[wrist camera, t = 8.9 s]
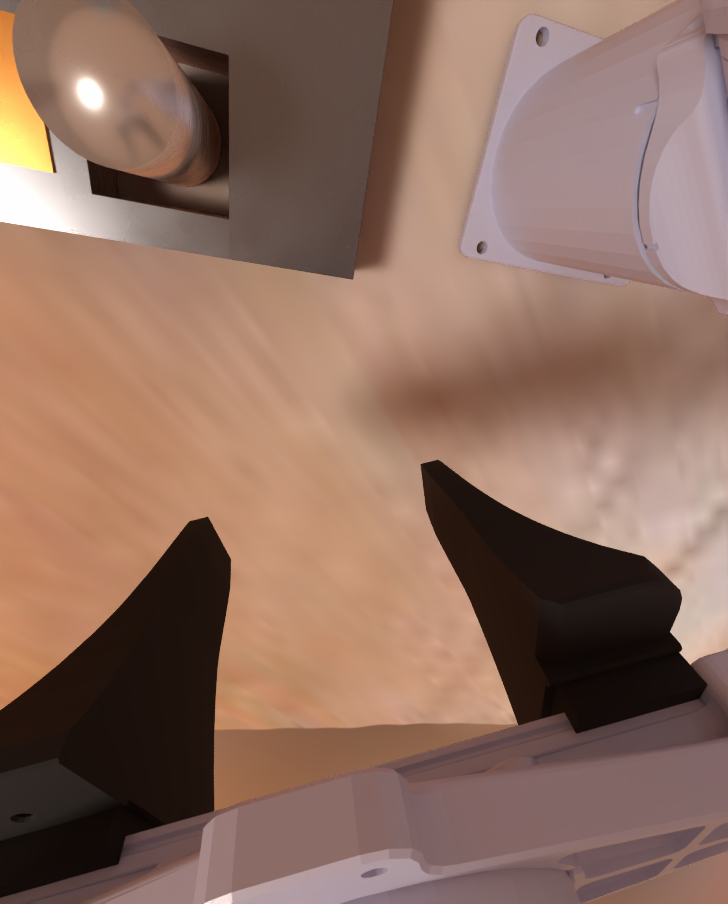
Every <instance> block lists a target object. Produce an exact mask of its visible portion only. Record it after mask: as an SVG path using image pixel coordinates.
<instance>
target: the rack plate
mask: <svg viewBox="0 0 728 904" xmlns="http://www.w3.org/2000/svg"><path fill="white" fill-rule="evenodd" d="M20 1H21V0H0V221H2V222H8V223H14V224H20V225H26V226H32V227H38V228H44V229H50V230H56V231H62V232H68V233H74V234H80V235H86V236H92V237H98V238H105V239H111V240H117V241H123V242H129V243H135V244H141V245H147V246H153V247H159V248H165V249H171V250H177V251H183V252H189V253H195V254H202V255H208V256H214V257H220V258H226V259H232V260H238V261H244V262H250V263H256V264H262V265H268V266H274V267H280V268H286V269H292V270H298V271H305V272H311V273H317V274H323V275H329V276H335V277H341V278H347V279H353V276H354V269H355V262H356V256H357V249H358V242H359V235H360V228H361V221H362V214H363V207H364V200H365V194H366V187H367V180H368V173H369V166H370V159H371V152H372V145H373V139H374V132H375V125H376V118H377V111H378V104H379V97H380V90H381V83H382V77H383V70H384V63H385V56H386V49H387V42H388V35H389V28H390V21H391V15H392V8H393V1H394V0H127V1H128V2H129V3H130V4H131V5H133V6H134V7H135V8H136V10H137V11H138V12H139V13H140V14H141V15H142V16H143V18H144V19H145V20H146V22H147V23H148V24H149V26H150V27H151V28H152V30H153V31H154V32H155V34H156V35H157V36H158V38H159V39H160V40H161V42H162V43H163V45H164V46H165V47H166V49H167V50H168V51H169V53H170V54H171V55H172V57H173V58H174V59H175V61H176V62H179V63H182V64H186V65H190V66H194V67H197V68H201V69H205V70H209V71H212V72H216V73H220V74H224V75H227V76H229V217H226V216H221V215H216V214H210V213H205V212H200V211H194V210H189V209H184V208H178V207H173V206H168V205H162V204H157V203H152V202H147V201H141V200H136V199H131V198H125V197H120V196H119V195H118V187H117V179H116V170H115V169H112V168H108V167H105V166H102V165H99V164H96V163H94V162H91V161H89V160H87V159H85V158H83V157H82V156H80V155H78V154H77V153H75V152H74V151H73V150H71V149H70V148H69V147H67V146H66V145H65V144H64V143H63V142H62V141H60V140H59V139H58V138H57V137H56V136H55V135H54V134H53V133H52V131H51V130H50V129H49V128H48V127H47V126H46V124H45V123H44V122H43V121H42V119H41V118H40V117H39V115H38V114H37V112H36V110H35V109H34V107H33V106H32V104H31V102H30V100H29V98H28V96H27V95H26V92H25V90H24V88H23V85H22V83H21V80H20V77H19V74H18V71H17V68H16V63H15V58H14V52H13V43H12V37H13V23H14V17H15V14H16V11H17V7H18V5H19V3H20Z"/></svg>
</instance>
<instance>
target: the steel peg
mask: <svg viewBox="0 0 728 904" xmlns="http://www.w3.org/2000/svg"><path fill="white" fill-rule="evenodd" d="M12 43H13V52H14V58H15V63H16V68H17V71H18V74H19V77H20V80H21V83H22V85H23V88H24V90H25V92H26V95H27V96H28V98H29V100H30V102H31V104H32V106H33V107H34V109H35V110H36V112H37V114H38V115H39V117H40V118H41V119H42V121H43V122H44V123H45V124H46V126H47V127H48V128H49V129H50V130H51V131H52V133H53V134H54V135H55V136H56V137H57V138H58V139H59V140H60V141H62V142H63V143H64V144H65V145H66V146H67V147H69V148H70V149H71V150H73V151H74V152H75V153H77V154H78V155H80V156H82V157H83V158H85V159H87V160H89V161H91V162H94V163H96V164H99V165H102V166H105V167H108V168H112V169H116V170H120V171H124V172H127V173H131V174H135V175H139V176H143V177H147V178H150V179H154V180H158V181H162V182H166V183H170V184H173V185H177V186H185V187H189V186H195V185H199V184H201V183H203V182H204V181H206V180H207V179H208V178H209V177H210V176H211V175H212V174H213V173H214V171H215V169H216V167H217V165H218V162H219V159H220V155H221V137H220V131H219V127H218V124H217V121H216V119H215V116H214V114H213V112H212V111H211V109H210V107H209V106H208V104H207V103H206V101H205V100H204V99H203V97H202V96H201V95H200V93H199V92H198V91H197V89H196V88H195V86H194V85H193V84H192V82H191V81H190V80H189V78H188V77H187V76H186V74H185V73H184V72H183V70H182V69H181V68H180V66H179V65H178V63H177V62H176V61H175V59H174V58H173V57H172V55H171V54H170V53H169V51H168V50H167V49H166V47H165V46H164V45H163V43H162V42H161V40H160V39H159V38H158V36H157V35H156V34H155V32H154V31H153V30H152V28H151V27H150V26H149V24H148V23H147V22H146V20H145V19H144V18H143V16H142V15H141V14H140V13H139V12H138V11H137V10H136V8H135V7H134V6H133V5H131V4H130V3H129V2H128V1H127V0H21V1H20V3H19V5H18V7H17V11H16V14H15V17H14V23H13V37H12Z"/></svg>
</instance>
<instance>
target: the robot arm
mask: <svg viewBox="0 0 728 904" xmlns="http://www.w3.org/2000/svg"><path fill="white" fill-rule="evenodd" d="M538 31H540V32H541V33H542V34H543V37H544V38H543V44H542V46H541V47H539V46H538V45H537V43H536V34H537V32H538ZM481 241H482V242H483V244H484V248H483V250H482V251H481V252H480V253H478V252H477V245H478V243H480V242H481ZM459 251H460V253H461V254H462V255H463V256H465V257H468V258H473V259H478V260H483V261H489V262H494V263H499V264H504V265H509V266H515V267H520V268H525V269H530V270H536V271H541V272H546V273H551V274H556V275H562V276H567V277H572V278H577V279H583V280H588V281H593V282H598V283H603V284H609V285H614V286H619V287H620V286H625V285H627V284H628V283H629V282H630V280H632V281H637V282H642V283H647V284H651V285H656V286H661V287H666V288H671V289H676V290H681V291H688V292H692V293H696V294H700V295H704V296H706V297H708V298H709V299H711V300H712V301H713V303H714V304H715V306H716V308H717V311H718V313H720V314H724V315H728V0H677V1H675V2H673V3H671V4H669V5H667V6H666V7H664V8H662V9H660V10H658V11H656V12H654V13H653V14H651V15H649V16H647V17H645V18H643V19H641V20H640V21H638V22H636V23H634V24H632V25H630V26H628V27H627V28H625V29H623V30H621V31H619V32H617V33H615V34H613V35H612V36H610V37H608V38H606V39H602V38H600V37H597V36H594V35H591V34H589V33H586V32H583V31H580V30H578V29H575V28H572V27H569V26H567V25H564V24H561V23H558V22H556V21H553V20H550V19H547V18H545V17H542V16H539V15H537V14H529V15H527V16H526V17H524V18H523V19H522V20H521V21H520V22H519V23H518V24H517V26H516V29H515V31H514V34H513V38H512V42H511V46H510V50H509V54H508V57H507V61H506V65H505V69H504V73H503V77H502V80H501V84H500V88H499V92H498V96H497V100H496V104H495V107H494V111H493V115H492V119H491V123H490V127H489V130H488V134H487V138H486V142H485V146H484V150H483V154H482V157H481V161H480V165H479V169H478V173H477V177H476V181H475V184H474V188H473V192H472V196H471V200H470V204H469V207H468V211H467V215H466V219H465V223H464V227H463V231H462V234H461V238H460V242H459ZM604 275H606V276H604ZM421 471H422V479H423V488H424V496H425V504H426V511H427V513H428V516H429V519H430V521H431V524H432V526H433V529H434V532H435V534H436V536H437V538H438V540H439V542H440V544H441V546H442V548H443V550H444V551H445V553H446V555H447V557H448V559H449V561H450V563H451V565H452V566H453V568H454V570H455V572H456V574H457V576H458V578H459V579H460V581H461V583H462V585H463V587H464V589H465V591H466V593H467V595H468V597H469V599H470V601H471V604H472V606H473V609H474V611H475V614H476V616H477V618H478V621H479V623H480V626H481V628H482V631H483V633H484V636H485V638H486V641H487V643H488V646H489V648H490V651H491V653H492V656H493V658H494V661H495V664H496V666H497V669H498V671H499V674H500V677H501V679H502V682H503V685H504V687H505V690H506V692H507V695H508V698H509V701H510V703H511V706H512V709H513V712H514V714H515V717H516V720H517V723H518V726H515V727H511V728H508V729H504V730H500V731H497V732H493V733H490V734H486V735H483V736H480V737H476V738H472V739H469V740H465V741H461V742H458V743H454V744H451V745H447V746H444V747H440V748H437V749H433V750H429V751H426V752H422V753H419V754H415V755H412V756H409V757H405V758H401V759H398V760H394V761H390V762H387V763H383V764H380V765H377V766H373V767H369V768H366V769H361V770H355V771H350V772H346V773H343V774H339V775H335V776H332V777H328V778H325V779H321V780H318V781H314V782H311V783H307V784H304V785H300V786H297V787H293V788H290V789H286V790H282V791H279V792H276V793H272V794H268V795H264V796H261V797H257V798H254V799H250V800H247V801H243V802H240V803H237V804H235V805H233V806H230V807H227V808H224V809H220V810H217V811H214V723H215V698H216V682H217V667H218V659H219V652H220V646H221V640H222V634H223V628H224V622H225V617H226V611H227V604H228V598H229V592H230V578H231V559H230V557H229V555H228V553H227V551H226V549H225V547H224V546H223V544H222V542H221V540H220V538H219V536H218V534H217V533H216V531H215V529H214V527H213V525H212V523H211V521H210V520H209V518H208V517H205V518H201V519H197V520H193V521H190V522H189V523H188V524H187V525H186V526H185V527H184V529H183V530H182V531H181V532H180V534H179V535H178V536H177V538H176V539H175V540H174V542H173V543H172V544H171V545H170V547H169V548H168V549H167V551H166V552H165V553H164V554H163V556H162V557H161V558H160V560H159V561H158V562H157V563H156V565H155V566H154V567H153V568H152V570H151V571H150V572H149V573H148V575H147V576H146V577H145V578H144V579H143V580H142V582H141V583H140V584H139V585H138V586H137V587H136V589H135V590H134V591H133V592H132V593H131V595H130V596H129V597H128V598H127V599H126V600H125V601H124V602H123V604H122V605H121V606H120V607H119V608H118V609H117V610H116V611H115V612H114V613H113V614H112V615H111V616H110V617H109V618H108V619H107V620H106V621H105V622H104V623H103V624H102V625H101V626H100V627H99V628H98V629H97V630H96V631H95V632H94V633H93V634H92V635H91V636H90V637H89V638H88V639H87V640H85V641H84V642H83V643H82V644H81V645H80V646H79V647H78V648H77V649H75V650H74V651H73V652H72V653H71V654H70V655H69V656H68V657H67V658H66V659H64V660H63V661H62V662H61V663H60V664H59V665H57V666H56V667H55V668H54V669H53V670H51V671H50V672H49V673H48V674H47V675H45V676H44V677H43V678H42V679H41V680H39V681H38V682H37V683H35V684H34V685H33V686H32V687H30V688H29V689H28V690H27V691H25V692H24V693H23V694H22V695H20V696H19V697H18V698H16V699H15V700H14V701H12V702H11V703H10V704H8V705H7V706H6V707H4V708H3V709H1V710H0V904H584V903H587V902H590V901H593V900H596V899H598V898H601V897H604V896H607V895H609V894H612V893H615V892H618V891H621V890H623V889H626V888H629V887H632V886H634V885H637V884H640V883H643V882H645V881H648V880H651V879H654V878H657V877H659V876H662V875H665V874H667V873H670V872H673V871H676V870H679V869H681V868H684V867H687V866H690V865H693V864H695V863H698V862H701V861H703V860H706V859H709V858H712V857H715V856H718V855H721V854H723V853H726V852H728V650H725V651H721V652H718V653H714V654H710V655H707V656H704V657H702V658H699V659H698V660H696V661H695V662H693V663H692V664H691V665H690V664H689V663H688V662H687V661H686V660H685V659H684V658H683V656H682V655H681V654H680V653H679V652H680V651H681V650H682V646H681V644H680V643H679V642H678V641H677V639H676V638H675V637H674V636H673V635H672V634H671V633H670V630H671V628H672V626H673V624H674V621H675V619H676V617H677V614H678V612H679V610H680V606H681V602H682V596H681V592H680V590H679V589H678V588H677V587H676V586H675V585H674V584H673V583H672V582H671V581H670V580H669V579H668V578H667V577H666V576H665V575H664V574H663V573H662V572H661V571H660V570H659V569H658V568H657V567H656V566H655V565H654V564H652V563H651V562H650V561H649V560H648V559H647V558H645V557H644V556H640V555H636V554H632V553H628V552H624V551H620V550H617V549H613V548H609V547H605V546H601V545H598V544H595V543H592V542H589V541H586V540H582V539H579V538H576V537H574V536H571V535H568V534H565V533H563V532H560V531H558V530H555V529H553V528H550V527H548V526H545V525H543V524H540V523H538V522H536V521H534V520H531V519H529V518H527V517H525V516H523V515H521V514H519V513H517V512H515V511H513V510H511V509H510V508H508V507H506V506H504V505H503V504H501V503H499V502H497V501H496V500H494V499H493V498H491V497H489V496H488V495H486V494H485V493H483V492H482V491H480V490H479V489H477V488H476V487H474V486H473V485H471V484H470V483H469V482H467V481H466V480H465V479H463V478H462V477H460V476H459V475H458V474H456V473H455V472H454V471H453V470H451V469H450V468H449V467H447V466H446V465H445V464H444V463H442V462H441V461H439V460H435V461H431V462H427V463H423V464H421Z"/></svg>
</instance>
